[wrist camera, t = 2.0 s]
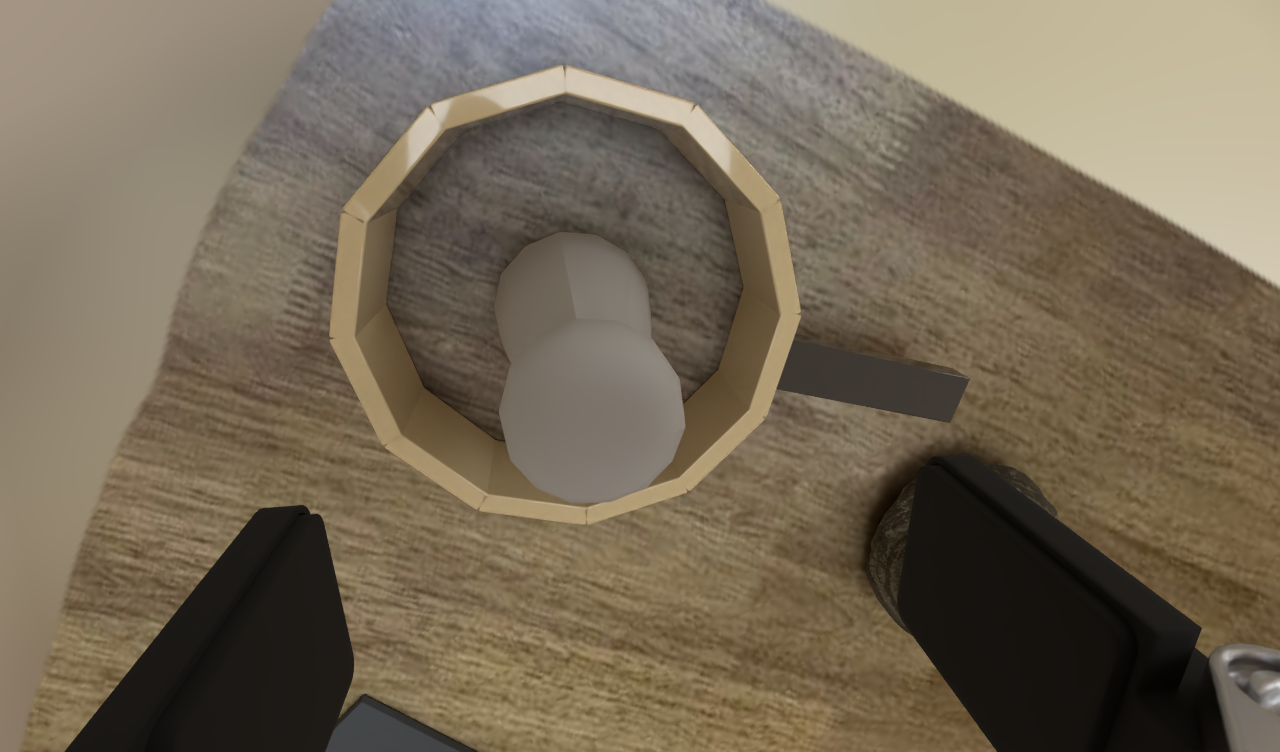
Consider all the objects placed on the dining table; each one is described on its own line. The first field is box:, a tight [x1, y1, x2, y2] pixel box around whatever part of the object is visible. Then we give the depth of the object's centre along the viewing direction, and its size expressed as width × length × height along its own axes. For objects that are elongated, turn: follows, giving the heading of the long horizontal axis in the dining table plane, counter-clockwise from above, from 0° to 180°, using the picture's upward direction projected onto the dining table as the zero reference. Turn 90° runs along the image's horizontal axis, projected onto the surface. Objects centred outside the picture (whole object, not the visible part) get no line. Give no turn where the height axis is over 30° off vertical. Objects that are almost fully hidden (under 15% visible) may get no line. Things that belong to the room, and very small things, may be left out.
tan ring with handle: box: [329, 65, 970, 525], centre depth 24 cm, size 22×16×4 cm
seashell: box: [866, 463, 1143, 636], centre depth 28 cm, size 11×12×10 cm
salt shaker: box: [494, 232, 685, 503], centre depth 20 cm, size 6×6×13 cm
